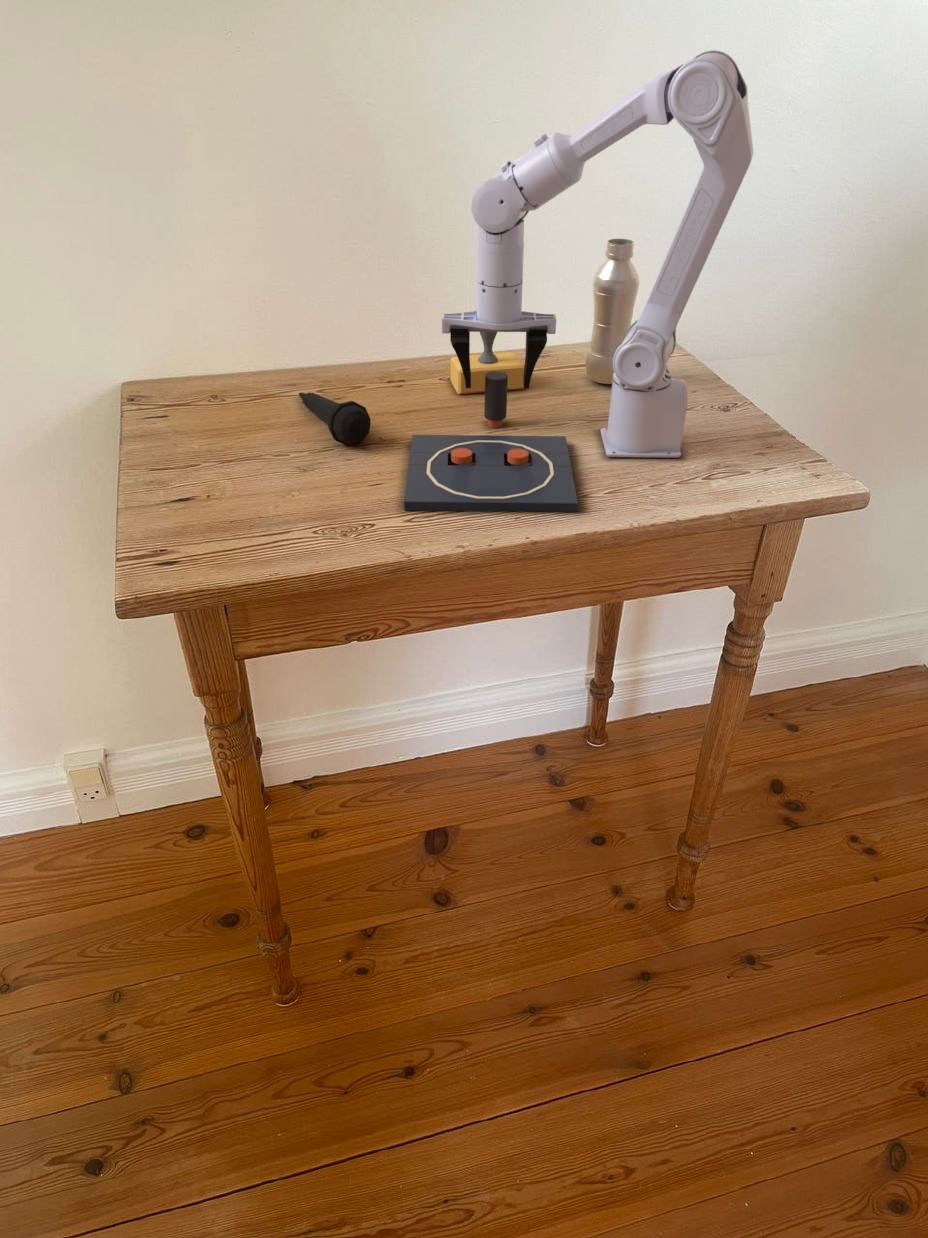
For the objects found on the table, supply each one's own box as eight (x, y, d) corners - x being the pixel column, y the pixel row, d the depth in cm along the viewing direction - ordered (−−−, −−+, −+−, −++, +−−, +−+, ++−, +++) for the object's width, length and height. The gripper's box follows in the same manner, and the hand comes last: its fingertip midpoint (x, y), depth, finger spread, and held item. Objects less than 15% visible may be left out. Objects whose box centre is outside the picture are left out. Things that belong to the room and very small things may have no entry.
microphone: (293, 421, 133) (349, 458, 118) (275, 385, 130) (331, 419, 115) (324, 402, 135) (384, 437, 119) (308, 367, 131) (367, 398, 116)
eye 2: (527, 455, 116) (528, 448, 115) (528, 465, 114) (529, 457, 113) (507, 455, 116) (507, 448, 115) (507, 465, 114) (508, 457, 113)
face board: (564, 444, 121) (565, 435, 120) (577, 512, 106) (578, 502, 106) (412, 442, 121) (412, 433, 120) (404, 510, 106) (404, 500, 106)
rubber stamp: (514, 375, 140) (517, 295, 133) (524, 389, 136) (528, 307, 129) (450, 380, 138) (450, 299, 131) (458, 395, 134) (458, 312, 127)
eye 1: (472, 455, 116) (472, 447, 115) (472, 464, 114) (472, 457, 113) (451, 455, 116) (451, 447, 115) (451, 464, 114) (451, 457, 113)
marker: (505, 420, 127) (507, 370, 123) (506, 429, 125) (508, 379, 120) (484, 419, 127) (485, 370, 123) (484, 429, 125) (485, 379, 120)
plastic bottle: (631, 389, 136) (648, 248, 124) (585, 389, 136) (598, 247, 124) (626, 373, 141) (642, 235, 129) (582, 372, 141) (593, 235, 130)
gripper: (555, 271, 118) (549, 374, 126) (442, 271, 118) (443, 373, 126) (559, 288, 112) (553, 394, 120) (440, 287, 112) (442, 394, 120)
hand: (497, 385), depth 123 cm, fingers open, 7 cm apart
